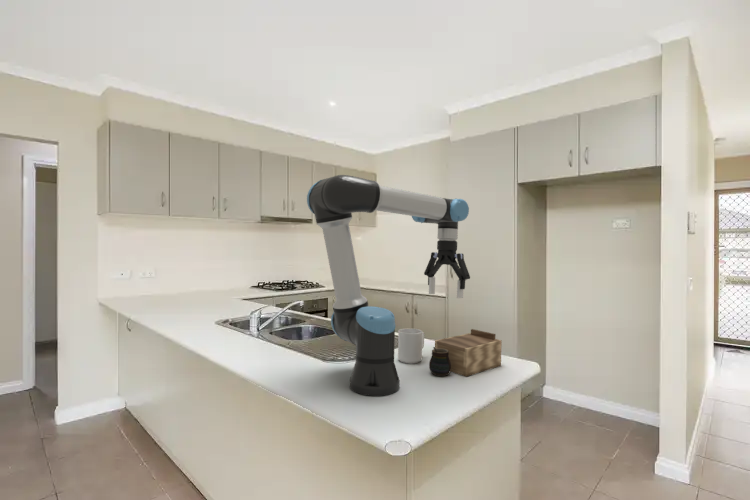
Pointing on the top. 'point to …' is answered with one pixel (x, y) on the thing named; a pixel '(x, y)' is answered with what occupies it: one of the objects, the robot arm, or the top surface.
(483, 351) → the wooden box
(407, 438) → the top surface
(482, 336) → the lid
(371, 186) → the robot arm
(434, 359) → the mate gourd
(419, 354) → the mug
